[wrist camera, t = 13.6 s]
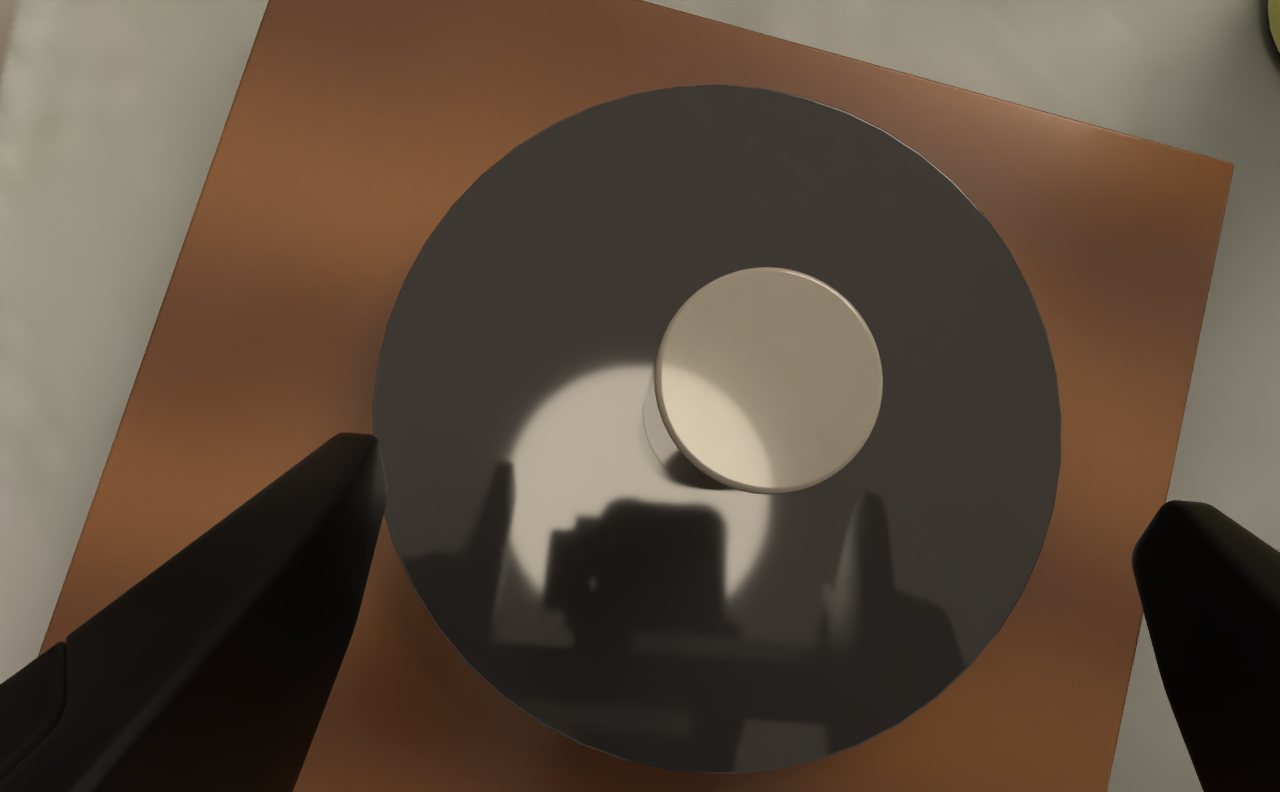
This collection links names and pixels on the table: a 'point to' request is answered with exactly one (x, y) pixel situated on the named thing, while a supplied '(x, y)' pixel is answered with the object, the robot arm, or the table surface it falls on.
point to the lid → (717, 429)
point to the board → (416, 203)
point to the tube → (1274, 20)
